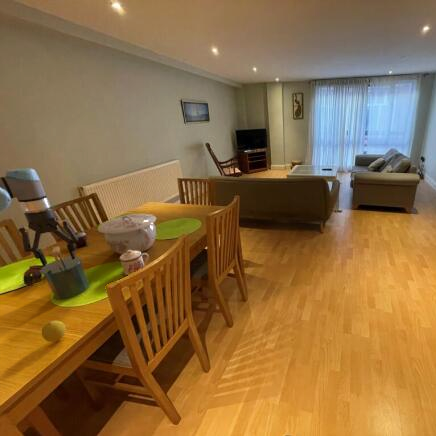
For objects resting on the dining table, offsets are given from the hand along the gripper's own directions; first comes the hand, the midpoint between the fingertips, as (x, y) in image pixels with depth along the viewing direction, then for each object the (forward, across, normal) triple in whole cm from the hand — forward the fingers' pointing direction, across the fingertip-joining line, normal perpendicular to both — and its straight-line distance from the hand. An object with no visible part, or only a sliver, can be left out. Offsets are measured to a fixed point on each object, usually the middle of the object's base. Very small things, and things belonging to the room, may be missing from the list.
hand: (59, 261), depth 99 cm
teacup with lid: (+15, -25, -2) cm, 29 cm away
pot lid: (+2, 0, 0) cm, 2 cm away
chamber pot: (+15, -25, -27) cm, 40 cm away
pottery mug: (+15, +14, -18) cm, 27 cm away
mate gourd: (+15, +2, -50) cm, 52 cm away
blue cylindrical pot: (+15, 0, 0) cm, 15 cm away
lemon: (+15, 0, +31) cm, 35 cm away
